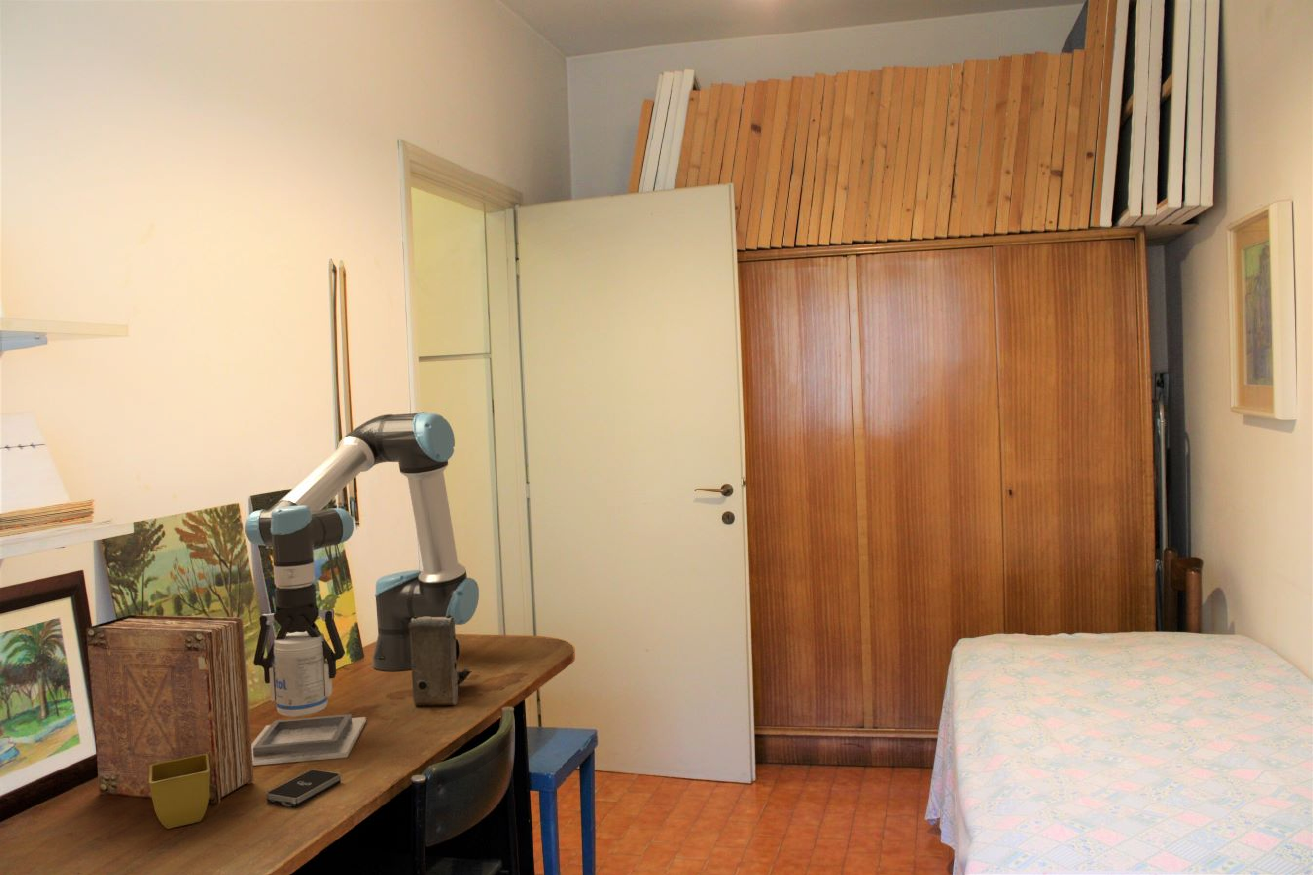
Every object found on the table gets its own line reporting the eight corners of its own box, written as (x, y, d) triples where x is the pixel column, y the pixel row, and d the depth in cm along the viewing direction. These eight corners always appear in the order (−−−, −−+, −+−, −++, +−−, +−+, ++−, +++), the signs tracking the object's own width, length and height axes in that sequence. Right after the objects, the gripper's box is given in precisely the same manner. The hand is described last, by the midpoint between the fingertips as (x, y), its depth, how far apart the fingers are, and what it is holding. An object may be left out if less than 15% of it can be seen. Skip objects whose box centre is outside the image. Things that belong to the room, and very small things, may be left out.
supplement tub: (267, 711, 188) (263, 638, 188) (312, 698, 196) (307, 628, 195) (293, 721, 182) (288, 645, 182) (337, 707, 189) (333, 634, 189)
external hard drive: (265, 804, 162) (264, 793, 162) (312, 779, 172) (312, 768, 172) (296, 810, 159) (296, 798, 159) (343, 784, 169) (342, 773, 169)
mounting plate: (266, 729, 198) (266, 717, 198) (365, 721, 201) (365, 709, 201) (237, 767, 178) (236, 753, 178) (347, 757, 181) (346, 743, 181)
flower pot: (152, 838, 150) (148, 782, 150) (153, 816, 158) (149, 763, 158) (213, 824, 154) (210, 770, 154) (211, 804, 162) (208, 752, 162)
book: (255, 783, 171) (244, 617, 169) (218, 805, 162) (206, 631, 160) (139, 773, 177) (128, 614, 176) (98, 794, 169) (86, 626, 167)
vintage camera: (475, 687, 222) (470, 602, 222) (455, 707, 207) (449, 616, 207) (435, 688, 223) (430, 604, 223) (412, 708, 208) (406, 617, 208)
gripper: (230, 592, 183) (237, 707, 184) (349, 584, 186) (356, 697, 187) (242, 584, 190) (249, 695, 191) (356, 577, 193) (363, 686, 194)
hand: (302, 696), depth 189 cm, fingers closed on supplement tub, 10 cm apart
